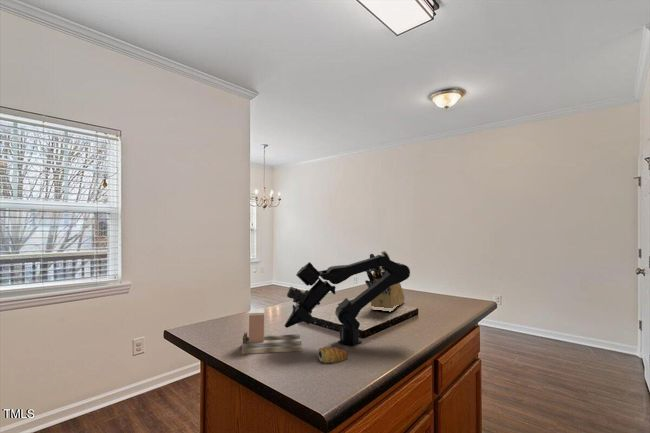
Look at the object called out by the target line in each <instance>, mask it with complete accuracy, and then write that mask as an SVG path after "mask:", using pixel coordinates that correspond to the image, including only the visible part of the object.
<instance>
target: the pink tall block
mask: <svg viewBox="0 0 650 433" xmlns="http://www.w3.org/2000/svg"><path fill="white" fill-rule="evenodd" d="M265 310H266V309H265V308H251V309H249V310H248V311H249V312H248V336H249V343H263V342H264V336H265V312H266V311H265Z"/></svg>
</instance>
